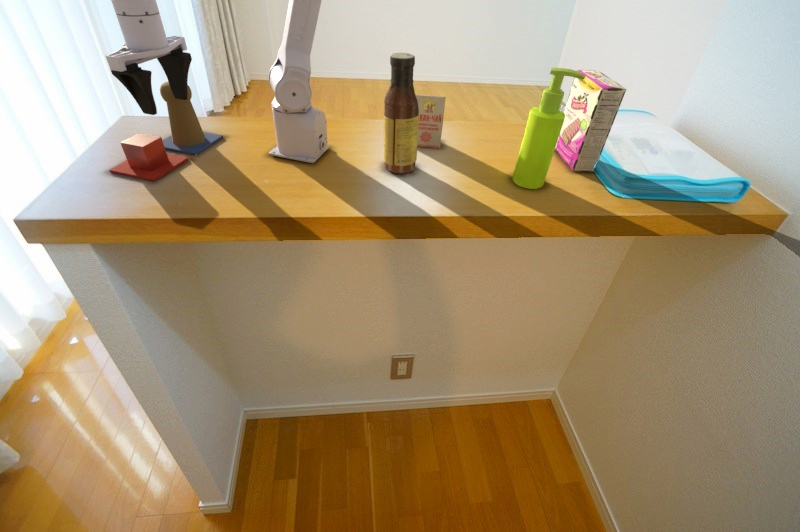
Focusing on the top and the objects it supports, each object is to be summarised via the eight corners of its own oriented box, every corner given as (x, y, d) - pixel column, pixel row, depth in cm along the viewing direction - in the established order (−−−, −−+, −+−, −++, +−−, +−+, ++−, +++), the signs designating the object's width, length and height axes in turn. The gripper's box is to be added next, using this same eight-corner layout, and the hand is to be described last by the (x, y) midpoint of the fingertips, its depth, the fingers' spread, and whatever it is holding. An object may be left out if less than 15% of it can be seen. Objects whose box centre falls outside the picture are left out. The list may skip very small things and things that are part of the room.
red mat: (188, 159, 77) (188, 157, 77) (154, 181, 70) (153, 179, 70) (147, 151, 79) (146, 149, 78) (109, 172, 72) (109, 169, 72)
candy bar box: (550, 148, 91) (575, 68, 81) (572, 148, 92) (599, 69, 81) (571, 172, 83) (602, 87, 72) (595, 172, 83) (629, 88, 73)
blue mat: (223, 137, 85) (222, 135, 85) (195, 155, 79) (194, 153, 78) (185, 130, 87) (184, 128, 87) (154, 147, 80) (154, 145, 80)
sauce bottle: (420, 165, 81) (431, 54, 68) (407, 178, 77) (416, 63, 64) (390, 157, 83) (395, 48, 70) (376, 169, 79) (378, 55, 66)
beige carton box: (408, 138, 91) (412, 91, 84) (439, 140, 91) (445, 94, 84) (408, 145, 88) (411, 97, 81) (439, 148, 88) (445, 100, 81)
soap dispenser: (547, 193, 76) (586, 77, 63) (510, 184, 77) (539, 70, 64) (550, 179, 80) (586, 68, 67) (514, 171, 82) (543, 62, 69)
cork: (194, 148, 80) (178, 89, 73) (166, 144, 81) (147, 85, 73) (211, 136, 85) (197, 79, 77) (184, 132, 85) (168, 75, 78)
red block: (169, 160, 76) (161, 136, 73) (151, 171, 72) (142, 147, 69) (147, 156, 76) (139, 132, 73) (129, 166, 73) (119, 142, 70)
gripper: (149, 2, 67) (174, 89, 76) (73, 17, 56) (112, 116, 65) (187, 7, 66) (208, 95, 75) (117, 23, 55) (151, 123, 64)
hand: (166, 105), depth 70 cm, fingers open, 7 cm apart
